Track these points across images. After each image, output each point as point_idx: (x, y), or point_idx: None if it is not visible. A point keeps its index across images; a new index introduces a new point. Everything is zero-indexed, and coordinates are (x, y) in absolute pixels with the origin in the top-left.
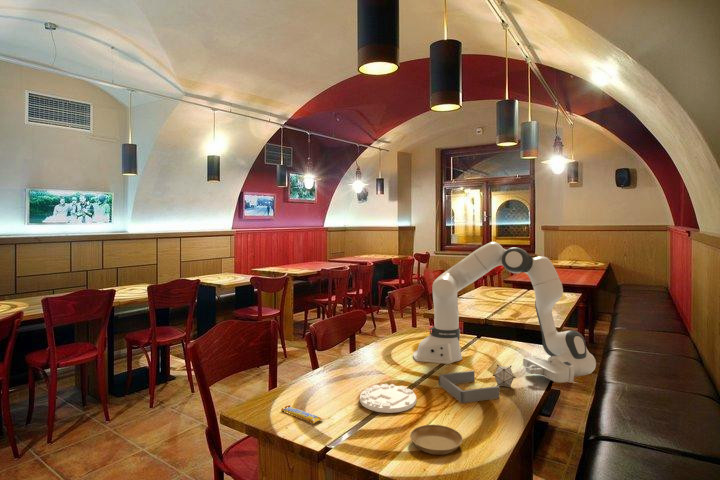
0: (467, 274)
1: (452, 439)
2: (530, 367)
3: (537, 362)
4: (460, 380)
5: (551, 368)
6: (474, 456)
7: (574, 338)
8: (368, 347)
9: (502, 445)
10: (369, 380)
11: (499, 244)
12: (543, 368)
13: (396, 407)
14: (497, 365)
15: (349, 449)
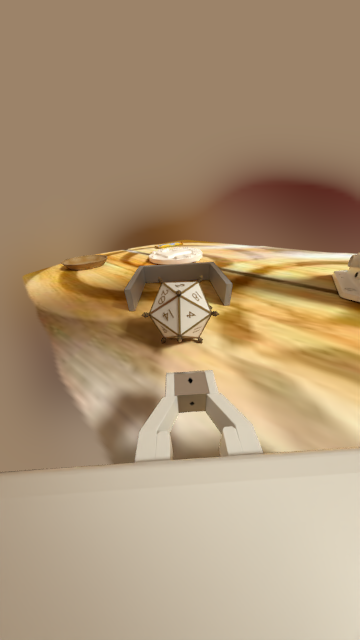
0: None
1: (81, 269)
2: (203, 391)
3: (301, 521)
4: (216, 287)
5: (12, 579)
6: (50, 273)
7: None
8: None
9: (36, 284)
10: (231, 255)
11: None
12: (117, 465)
13: (150, 255)
14: (198, 278)
15: (118, 252)
